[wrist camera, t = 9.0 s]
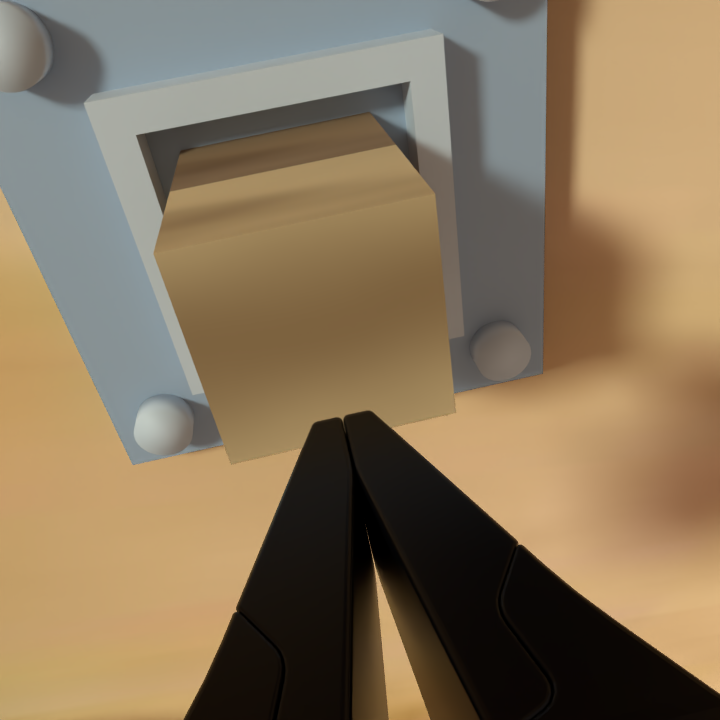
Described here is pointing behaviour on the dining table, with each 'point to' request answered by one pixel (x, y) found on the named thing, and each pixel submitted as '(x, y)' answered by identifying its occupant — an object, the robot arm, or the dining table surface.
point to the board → (253, 117)
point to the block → (307, 282)
